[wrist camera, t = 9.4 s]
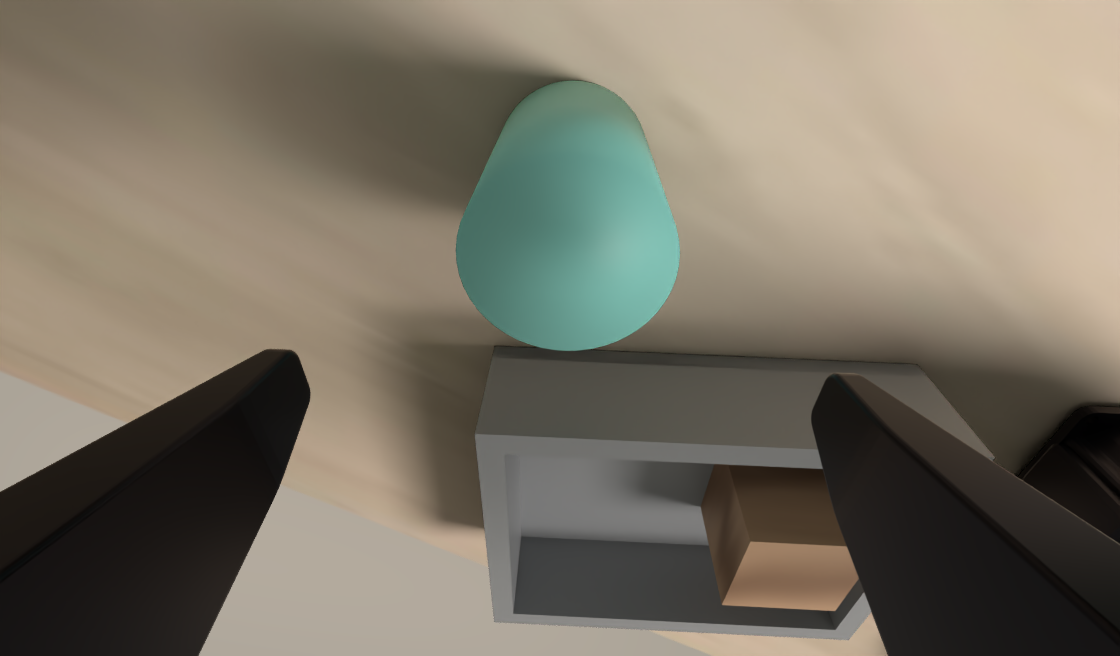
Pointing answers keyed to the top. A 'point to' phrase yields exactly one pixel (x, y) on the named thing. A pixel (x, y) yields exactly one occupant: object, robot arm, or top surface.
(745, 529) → the tan wooden cube
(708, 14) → the top surface
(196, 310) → the top surface
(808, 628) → the grey rectangular tray
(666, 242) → the teal capsule
